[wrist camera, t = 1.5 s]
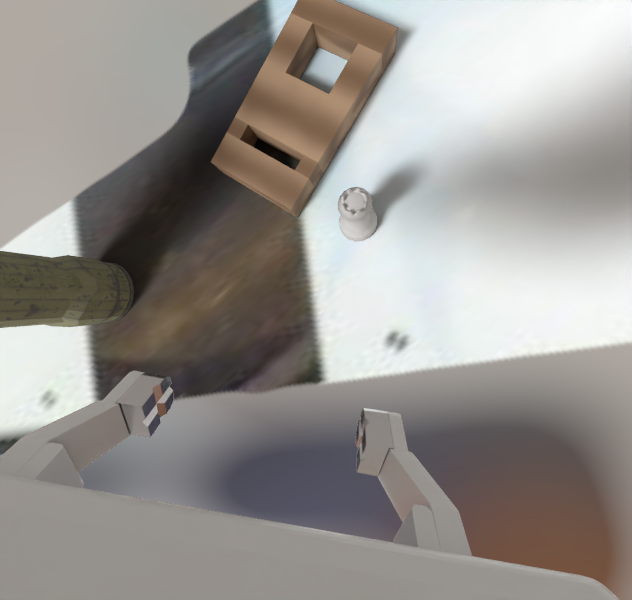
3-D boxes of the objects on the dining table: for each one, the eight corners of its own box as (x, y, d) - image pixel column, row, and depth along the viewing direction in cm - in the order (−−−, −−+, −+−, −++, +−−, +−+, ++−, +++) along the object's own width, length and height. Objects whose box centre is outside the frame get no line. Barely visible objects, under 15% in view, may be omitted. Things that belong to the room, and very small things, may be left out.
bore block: (310, 14, 35) (304, -13, 32) (395, 51, 33) (397, 27, 30) (223, 173, 37) (210, 162, 34) (297, 217, 35) (290, 209, 32)
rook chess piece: (352, 198, 34) (346, 168, 26) (384, 215, 33) (388, 189, 25) (333, 231, 34) (321, 211, 26) (364, 249, 33) (362, 233, 26)
